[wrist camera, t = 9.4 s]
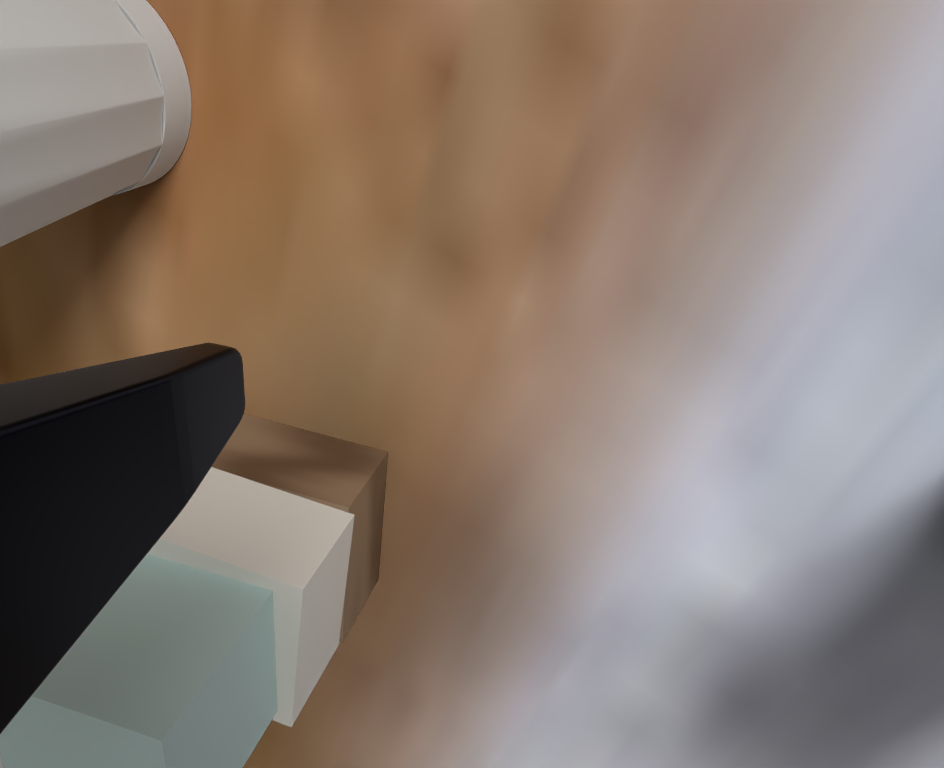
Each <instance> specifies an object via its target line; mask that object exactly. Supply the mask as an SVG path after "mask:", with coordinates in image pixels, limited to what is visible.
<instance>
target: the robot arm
mask: <svg viewBox="0 0 944 768" xmlns="http://www.w3.org/2000/svg"><path fill="white" fill-rule="evenodd" d="M244 410H245V392H244V377H243V363H242V357H241V355H240V353H239V352H238V351H237V350H236V349H235V348H232V347H228V346H223V345H219V344H214V343H204V344H199V345H194V346H189V347H184V348H179V349H174V350H169V351H165V352H160V353H155V354H150V355H145V356H140V357H135V358H130V359H125V360H120V361H115V362H110V363H105V364H100V365H95V366H90V367H85V368H81V369H76V370H71V371H66V372H61V373H56V374H51V375H46V376H41V377H36V378H31V379H26V380H21V381H16V382H11V383H6V384H2V385H0V734H1V733H2V732H3V730H4V729H5V728H6V727H7V726H8V724H9V723H10V722H11V721H12V719H13V718H14V717H15V716H16V714H17V713H18V712H19V711H20V710H21V708H22V707H23V706H24V705H25V703H26V702H27V701H28V700H29V699H30V697H31V696H32V695H33V694H34V692H35V691H36V690H37V689H38V687H39V686H40V685H41V684H42V683H43V681H44V680H45V679H46V678H47V676H48V675H49V674H50V673H51V671H52V670H53V669H54V668H55V667H56V665H57V664H58V663H59V662H60V660H61V659H62V658H63V657H64V655H65V654H66V653H67V652H68V651H69V649H70V648H71V647H72V646H73V644H74V643H75V642H76V641H77V640H78V638H79V637H80V636H81V635H82V633H83V632H84V631H85V630H86V628H87V627H88V626H89V625H90V624H91V622H92V621H93V620H94V619H95V617H96V616H97V615H98V614H99V612H100V611H101V610H102V609H103V608H104V606H105V605H106V604H107V603H108V601H109V600H110V599H111V598H112V596H113V595H114V594H115V593H116V592H117V590H118V589H119V588H120V587H121V585H122V584H123V583H124V582H125V581H126V579H127V578H128V577H129V576H130V574H131V573H132V572H133V571H134V569H135V568H136V567H137V566H138V565H139V563H140V562H141V561H142V560H143V558H144V557H145V556H146V555H147V553H148V552H149V551H150V550H151V549H152V547H153V546H154V545H155V544H156V542H157V541H158V540H159V539H160V537H161V536H162V535H163V534H164V533H165V531H166V530H167V529H168V528H169V526H170V525H171V524H172V523H173V522H174V520H175V519H176V518H177V516H178V515H179V514H180V512H181V511H182V510H183V509H184V507H185V506H186V505H187V503H188V502H189V500H190V499H191V497H192V496H193V494H194V493H195V492H196V490H197V488H198V487H199V485H200V484H201V482H202V481H203V479H204V478H205V476H206V475H207V473H208V471H209V470H210V468H211V467H212V465H213V464H214V462H215V461H216V459H217V457H218V456H219V454H220V453H221V451H222V450H223V448H224V447H225V445H226V443H227V442H228V440H229V439H230V437H231V436H232V434H233V433H234V431H235V430H236V428H237V426H238V425H239V423H240V421H241V419H242V417H243V414H244Z"/></svg>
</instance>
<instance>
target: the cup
mask: <svg viewBox="0 0 944 768" xmlns="http://www.w3.org/2000/svg"><path fill="white" fill-rule="evenodd" d="M191 109H192V107H191V92H190V85H189V80H188V76H187V72H186V68H185V65H184V62H183V59H182V56H181V54H180V51H179V49H178V47H177V45H176V42H175V40H174V38H173V37H172V35H171V33H170V31H169V30H168V28H167V26H166V25H165V23H164V22H163V20H162V19H161V18H160V16H159V15H158V14H157V12H156V11H155V10H154V9H153V7H152V6H151V5H150V4H149V3H148V2H147V1H146V0H0V247H1V246H4V245H6V244H8V243H10V242H12V241H14V240H17V239H19V238H21V237H23V236H25V235H27V234H30V233H32V232H34V231H36V230H38V229H40V228H42V227H45V226H47V225H49V224H51V223H53V222H55V221H58V220H60V219H62V218H64V217H66V216H68V215H70V214H73V213H75V212H77V211H79V210H81V209H83V208H86V207H88V206H90V205H92V204H94V203H96V202H98V201H101V200H103V199H105V198H107V197H109V196H113V195H117V194H120V193H123V192H126V191H129V190H132V189H135V188H138V187H141V186H144V185H147V184H150V183H152V182H154V181H156V180H158V179H159V178H161V177H162V176H164V175H165V174H166V173H167V172H168V171H169V170H170V169H171V168H172V167H173V166H174V165H175V163H176V162H177V160H178V159H179V157H180V155H181V154H182V152H183V149H184V147H185V144H186V142H187V138H188V135H189V130H190V124H191Z"/></svg>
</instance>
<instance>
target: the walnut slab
mask: <svg viewBox="0 0 944 768" xmlns="http://www.w3.org/2000/svg"><path fill="white" fill-rule="evenodd" d="M387 460H388V452H386V451H382V450H378V449H374V448H371V447H367V446H363V445H359V444H356V443H352V442H348V441H344V440H341V439H337V438H333V437H329V436H326V435H322V434H318V433H314V432H311V431H307V430H303V429H299V428H295V427H292V426H288V425H284V424H280V423H277V422H273V421H269V420H265V419H262V418H258V417H254V416H250V415H247V414H243V417H242V419H241V421H240V423H239V425H238V426H237V428H236V430H235V431H234V433H233V434H232V436H231V437H230V439H229V440H228V442H227V443H226V445H225V447H224V448H223V450H222V451H221V453H220V454H219V456H218V457H217V459H216V461H215V462H214V464H213V465H212V467H213V468H216V469H219V470H222V471H225V472H228V473H231V474H234V475H237V476H240V477H243V478H246V479H249V480H252V481H255V482H258V483H261V484H264V485H267V486H270V487H273V488H276V489H279V490H282V491H285V492H288V493H291V494H294V495H297V496H300V497H303V498H306V499H309V500H312V501H315V502H318V503H321V504H324V505H327V506H330V507H333V508H336V509H339V510H342V511H345V512H348V513H351V514H354V515H355V516H354V524H353V532H352V541H351V549H350V557H349V565H348V573H347V581H346V589H345V597H344V606H343V614H342V622H341V630H340V638H339V641H341V642H343V640H344V638H345V637H346V635H347V633H348V631H349V630H350V628H351V626H352V624H353V623H354V621H355V619H356V617H357V616H358V614H359V612H360V610H361V609H362V607H363V605H364V604H365V602H366V600H367V598H368V597H369V595H370V593H371V591H372V590H373V588H374V586H375V584H376V583H377V581H378V578H379V565H380V552H381V539H382V526H383V513H384V500H385V487H386V473H387Z"/></svg>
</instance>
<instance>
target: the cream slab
mask: <svg viewBox="0 0 944 768" xmlns="http://www.w3.org/2000/svg"><path fill="white" fill-rule="evenodd" d="M354 516H355V515H354V514H351V513H348V512H345V511H342V510H339V509H336V508H333V507H330V506H327V505H324V504H321V503H318V502H315V501H312V500H309V499H306V498H303V497H300V496H297V495H294V494H291V493H288V492H285V491H282V490H279V489H276V488H273V487H270V486H267V485H264V484H261V483H258V482H255V481H252V480H249V479H246V478H243V477H240V476H237V475H234V474H231V473H228V472H225V471H222V470H219V469H216V468H213V467H211V468H210V470H209V471H208V473H207V475H206V476H205V478H204V479H203V481H202V482H201V484H200V485H199V487H198V488H197V490H196V492H195V493H194V494H193V496H192V497H191V499H190V500H189V502H188V503H187V505H186V506H185V507H184V509H183V510H182V511H181V512H180V514H179V515H178V516H177V518H176V519H175V520H174V522H173V523H172V524H171V525H170V526H169V528H168V529H167V530H166V531H165V533H164V534H163V535H162V536H161V537H160V539H159V540H158V541H157V542H156V544H155V545H154V546H153V547H152V549H151V550H150V551H149V552H148V553H147V554H150V555H153V556H156V557H160V558H163V559H167V560H170V561H174V562H177V563H180V564H184V565H187V566H191V567H194V568H197V569H201V570H204V571H208V572H211V573H215V574H218V575H221V576H225V577H228V578H232V579H235V580H238V581H242V582H245V583H249V584H252V585H256V586H259V587H262V588H266V589H269V590H273V608H274V631H275V655H276V679H277V704H278V711H277V712H276V714H275V715H274V717H273V719H272V720H274V721H276V722H279V723H281V724H284V725H286V726H289V727H292V725H293V724H294V722H295V720H296V718H297V717H298V715H299V713H300V711H301V710H302V708H303V706H304V705H305V703H306V701H307V699H308V698H309V696H310V694H311V692H312V691H313V689H314V687H315V685H316V684H317V682H318V680H319V678H320V677H321V675H322V673H323V672H324V670H325V668H326V666H327V665H328V663H329V661H330V659H331V658H332V656H333V654H334V652H335V651H336V649H337V647H338V645H339V638H340V630H341V622H342V614H343V606H344V597H345V589H346V581H347V573H348V565H349V557H350V549H351V541H352V532H353V524H354Z"/></svg>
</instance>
